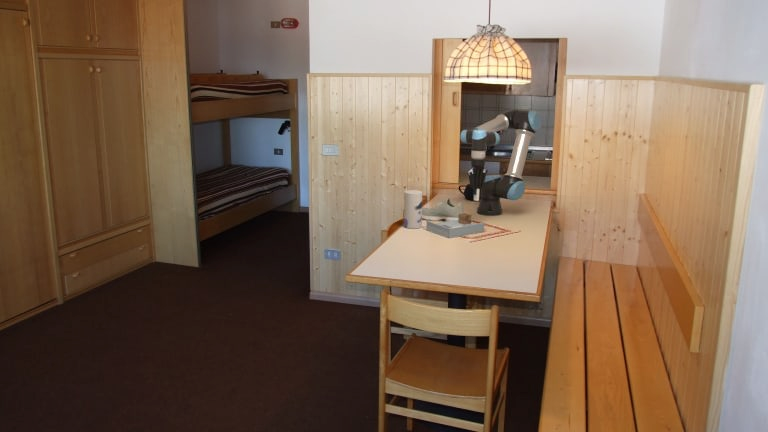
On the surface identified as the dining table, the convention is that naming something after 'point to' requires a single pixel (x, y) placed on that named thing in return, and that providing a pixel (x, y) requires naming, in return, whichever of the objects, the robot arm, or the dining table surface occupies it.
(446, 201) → the running shoe
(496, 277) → the dining table surface
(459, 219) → the block
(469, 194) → the teapot
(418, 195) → the container
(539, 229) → the dining table surface
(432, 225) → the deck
